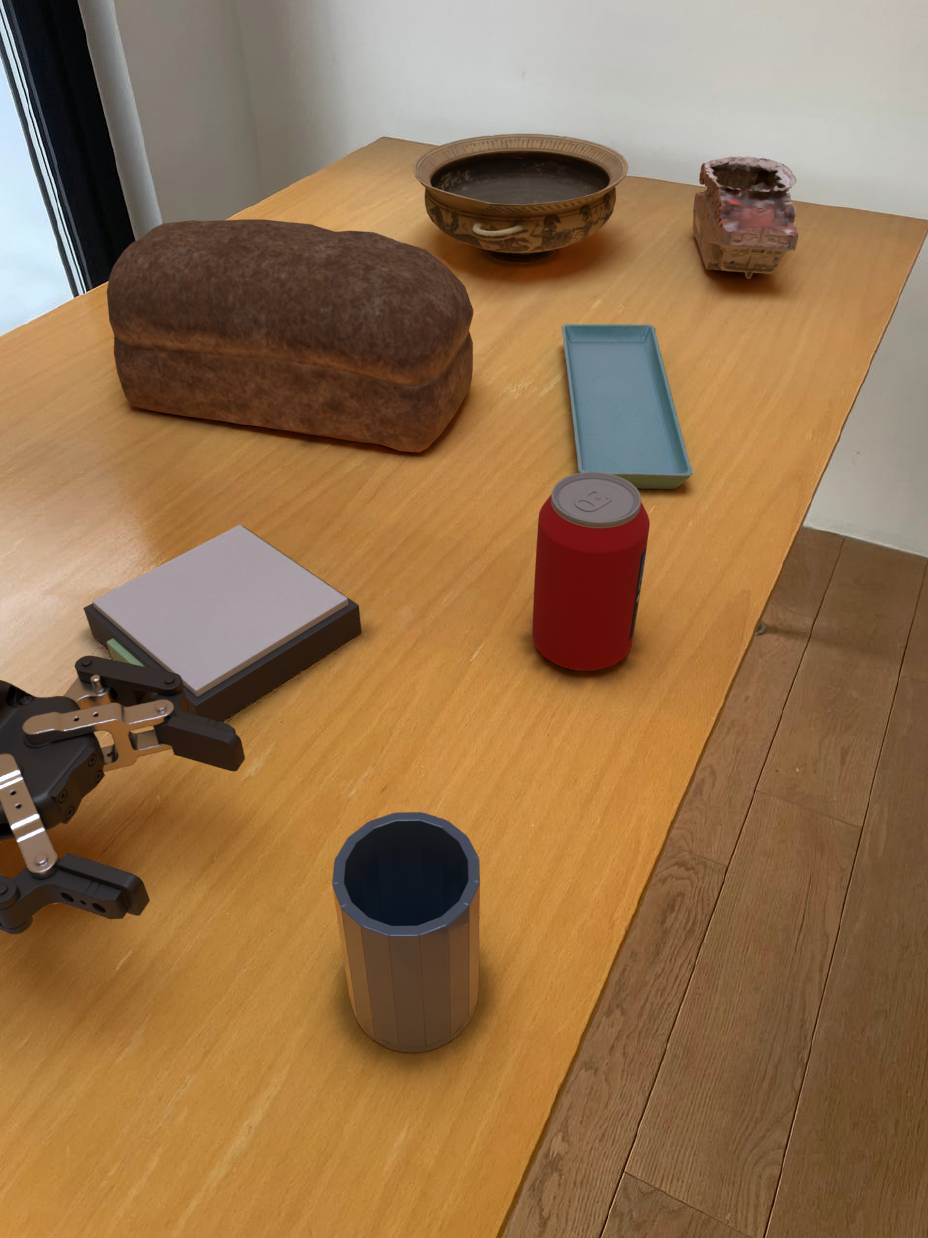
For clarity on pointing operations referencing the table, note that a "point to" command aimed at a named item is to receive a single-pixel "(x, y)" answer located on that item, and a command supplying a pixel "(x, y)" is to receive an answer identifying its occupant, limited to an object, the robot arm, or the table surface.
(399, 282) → the bread
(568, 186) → the ceramic bowl
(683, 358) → the table surface
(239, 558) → the scale
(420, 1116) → the table surface
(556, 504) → the beverage can
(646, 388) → the teal serving tray
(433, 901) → the cup
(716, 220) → the decorative box
